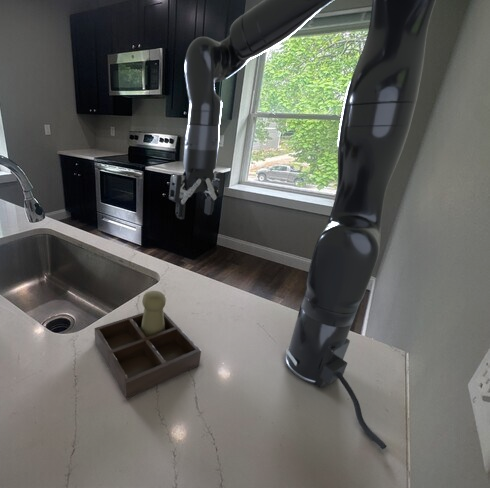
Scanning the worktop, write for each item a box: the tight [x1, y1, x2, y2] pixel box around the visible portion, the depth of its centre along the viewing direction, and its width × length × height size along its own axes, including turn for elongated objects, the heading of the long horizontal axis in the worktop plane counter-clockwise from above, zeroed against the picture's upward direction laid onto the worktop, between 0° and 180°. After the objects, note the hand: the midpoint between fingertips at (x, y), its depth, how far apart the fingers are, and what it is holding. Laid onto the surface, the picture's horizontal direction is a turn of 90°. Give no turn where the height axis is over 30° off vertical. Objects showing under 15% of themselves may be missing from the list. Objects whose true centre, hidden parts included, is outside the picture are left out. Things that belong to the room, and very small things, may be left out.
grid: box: [94, 310, 202, 400], centre depth 64 cm, size 17×17×4 cm
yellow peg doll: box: [141, 290, 167, 337], centre depth 67 cm, size 6×6×11 cm
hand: (194, 216), depth 72 cm, fingers open, 8 cm apart
